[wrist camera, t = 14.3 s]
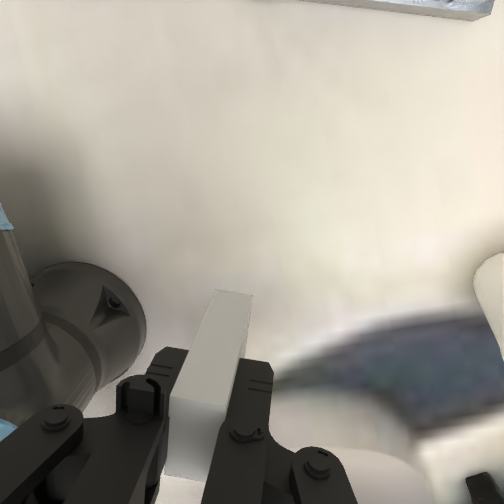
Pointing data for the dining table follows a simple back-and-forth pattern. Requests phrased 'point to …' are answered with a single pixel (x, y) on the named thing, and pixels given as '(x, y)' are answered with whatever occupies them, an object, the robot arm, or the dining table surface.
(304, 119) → the dining table surface
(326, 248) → the dining table surface
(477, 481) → the ceramic cat
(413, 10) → the base
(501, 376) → the dining table surface
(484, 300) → the foam cup
